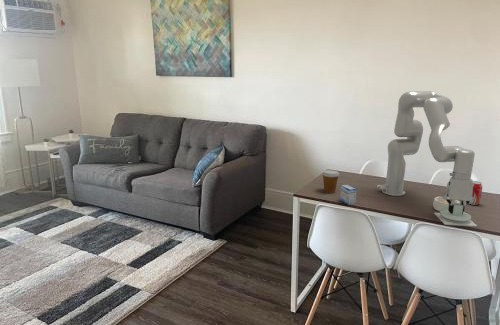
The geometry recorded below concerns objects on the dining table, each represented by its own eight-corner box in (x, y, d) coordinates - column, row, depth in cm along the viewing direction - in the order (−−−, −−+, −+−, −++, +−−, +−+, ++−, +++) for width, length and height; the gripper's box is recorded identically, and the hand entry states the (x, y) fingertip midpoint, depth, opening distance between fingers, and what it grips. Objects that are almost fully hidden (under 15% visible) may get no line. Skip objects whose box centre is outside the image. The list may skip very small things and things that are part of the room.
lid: (446, 220, 173) (448, 208, 172) (436, 210, 186) (437, 198, 184) (475, 222, 172) (478, 209, 170) (463, 211, 184) (465, 200, 183)
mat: (445, 224, 173) (445, 223, 173) (434, 213, 187) (434, 212, 186) (477, 226, 172) (477, 225, 171) (463, 215, 185) (463, 214, 185)
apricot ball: (443, 208, 191) (444, 202, 190) (440, 206, 194) (441, 199, 193) (450, 209, 190) (451, 202, 189) (448, 206, 194) (449, 200, 193)
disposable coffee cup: (331, 195, 211) (332, 174, 209) (317, 191, 218) (319, 171, 215) (341, 191, 218) (342, 172, 215) (327, 188, 224) (329, 168, 222)
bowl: (438, 212, 188) (439, 203, 187) (430, 205, 198) (431, 196, 197) (461, 214, 187) (462, 204, 185) (452, 206, 197) (453, 197, 196)
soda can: (461, 201, 205) (464, 180, 202) (473, 201, 206) (477, 180, 203) (469, 205, 198) (473, 184, 195) (482, 205, 199) (486, 184, 196)
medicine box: (339, 200, 203) (340, 185, 201) (346, 199, 205) (347, 184, 203) (348, 205, 196) (350, 189, 194) (355, 204, 198) (357, 188, 196)
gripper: (445, 177, 171) (440, 214, 176) (484, 179, 169) (477, 216, 174) (439, 172, 178) (434, 209, 183) (476, 174, 177) (470, 211, 181)
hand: (455, 212), depth 178 cm, fingers closed on lid, 3 cm apart
